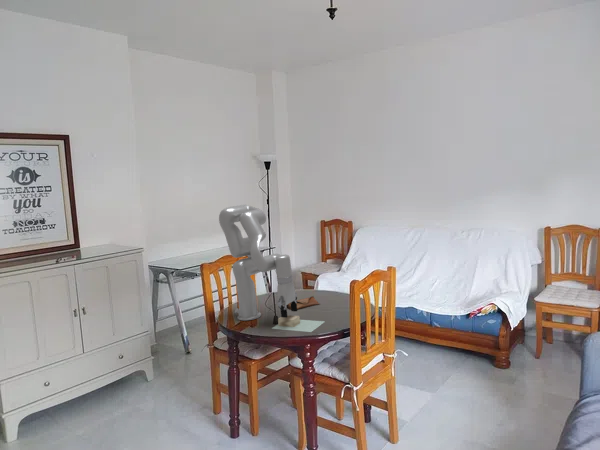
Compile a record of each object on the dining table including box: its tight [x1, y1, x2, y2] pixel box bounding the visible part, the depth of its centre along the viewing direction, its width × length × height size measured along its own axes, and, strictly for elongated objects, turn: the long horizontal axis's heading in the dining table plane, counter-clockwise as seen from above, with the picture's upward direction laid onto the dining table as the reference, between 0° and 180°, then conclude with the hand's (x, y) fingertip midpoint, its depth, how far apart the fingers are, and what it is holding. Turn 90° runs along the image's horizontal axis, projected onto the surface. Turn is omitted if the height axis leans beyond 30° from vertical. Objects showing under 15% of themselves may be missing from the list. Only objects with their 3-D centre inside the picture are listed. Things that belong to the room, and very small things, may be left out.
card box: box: [277, 314, 301, 327], centre depth 227 cm, size 9×6×4 cm, turn 61°
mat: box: [271, 319, 326, 333], centre depth 225 cm, size 22×15×1 cm
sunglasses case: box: [286, 295, 320, 311], centre depth 258 cm, size 18×7×7 cm
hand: (289, 314), depth 226 cm, fingers open, 9 cm apart
